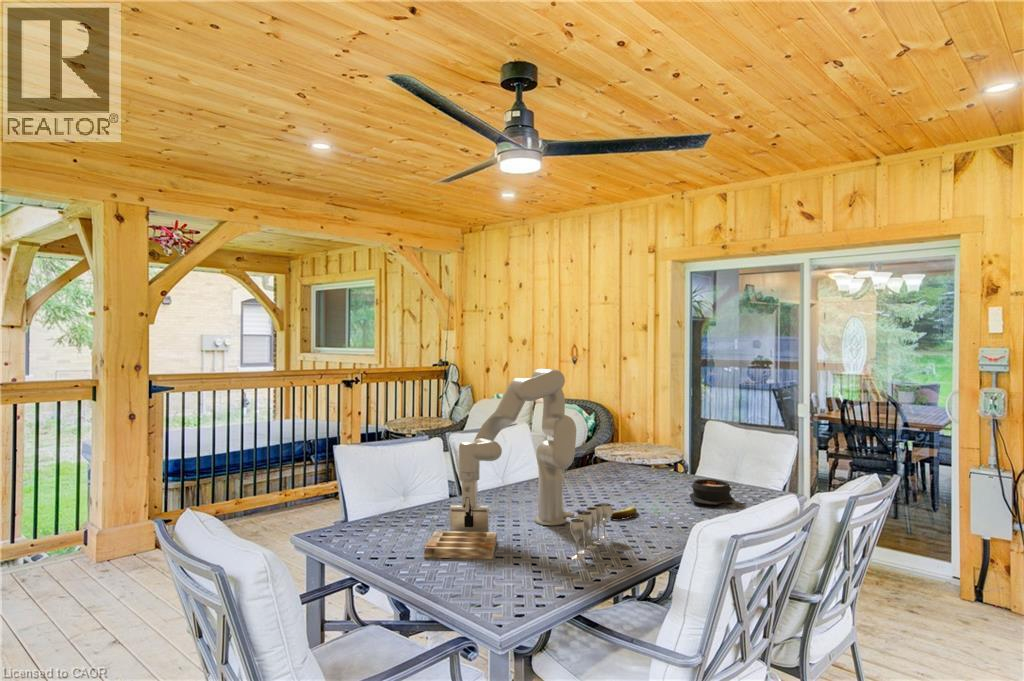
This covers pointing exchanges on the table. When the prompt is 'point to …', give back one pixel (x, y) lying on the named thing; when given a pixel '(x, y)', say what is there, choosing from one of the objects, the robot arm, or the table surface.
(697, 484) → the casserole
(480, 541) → the rack
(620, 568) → the table surface
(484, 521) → the blanking panel
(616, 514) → the yellow brown curved block
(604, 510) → the goblet set
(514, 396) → the robot arm
